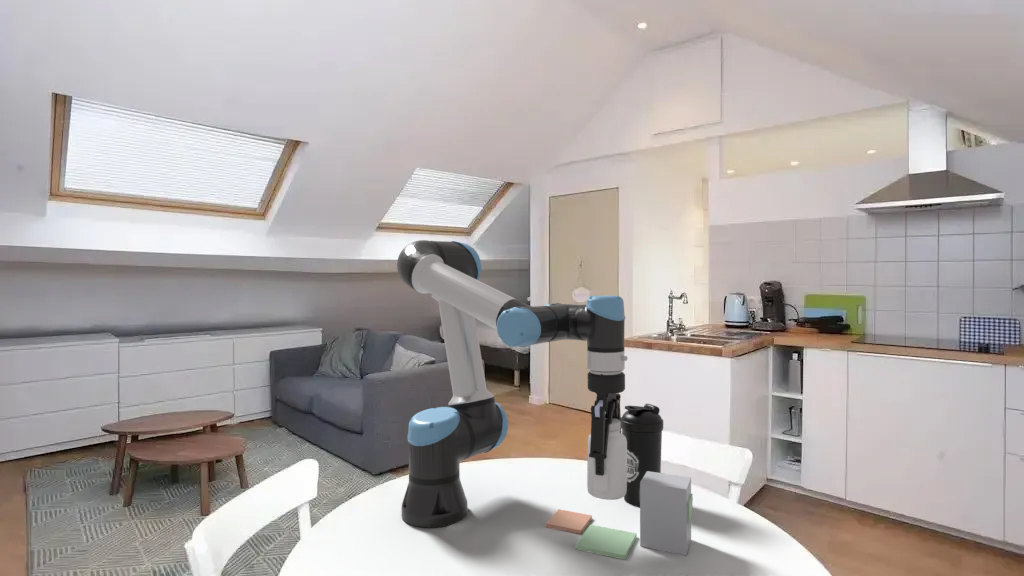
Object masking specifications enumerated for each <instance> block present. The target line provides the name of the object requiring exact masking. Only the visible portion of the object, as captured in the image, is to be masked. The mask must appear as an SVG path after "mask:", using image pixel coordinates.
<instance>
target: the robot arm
mask: <svg viewBox="0 0 1024 576" xmlns="http://www.w3.org/2000/svg"><path fill="white" fill-rule="evenodd" d="M396 270H397V275H398V276H399V278H400V279H401V280H402V282H403V283H404V284H405V285H406V286H407V287H409V288H411V289H413V290H414V291H416V292H418V293H420V294H423V295H424V294H430V295H431V298H432V299H434V300H435V301H436V302H437V303H438V309H439V315H440V320H441V327H442V334H443V339H444V340H443V341H444V346H445V353H446V359H447V366H448V372H449V379H450V385H451V389H452V390H451V391H452V397H451V399H450V400H449V402H448V403H447V404H448V405H447V406H439V407H435V408H434V407H431V408H428V409H424V410H421V411H419V412H417V413H415V414H414V415H413V416H412V417H411V418H410V420H409V422H408V431H407V432H408V433H407V442H408V446H407V447H408V483H407V487H406V490H405V493H404V497H403V500H402V503H401V518H402V520H403V521H404V523H407V524H409V525H411V526H415V527H419V528H441V527H446V526H450V525H453V524H456V523H458V522H460V521H461V520H463V519H464V518H465V517H466V516H467V514H468V499H467V496H466V494H465V491H464V488H463V485H462V481H461V477H460V476H461V474H460V462H462V461H465V460H466V459H471V458H472V457H475V456H479V455H481V454H486V453H487V454H488V453H489V452H491V451H492V450H494V449H497V448H499V447H500V446H501V445H502V444H503V442H504V440H505V439H506V437H507V435H508V430H509V419H508V415H507V413H506V410H505V409H503V407H502V405H501V404H499V403H498V402H496V400H495V395H494V394H493V393H492V392H490V391H489V389H487V383H486V382H487V381H486V377H485V370H484V365H483V359H482V354H481V353H482V351H481V347H480V340H479V334H478V328H477V323H476V320H477V321H479V322H481V323H482V324H485V325H487V326H488V327H490V328H492V329H494V330H495V331H496V332H497V335H498V337H499V338H500V340H501V342H502V343H503V344H504V345H506V346H508V347H511V348H517V347H519V348H526V347H529V346H534V345H539V344H544V343H551V342H557V341H563V340H567V341H568V340H569V341H584V342H585V341H586V343H587V344H586V346H587V347H586V348H587V349H586V353H587V354H586V355H587V356H586V360H587V361H586V363H587V364H586V369H587V370H588V373H587V390H588V391H589V392H592V393H595V394H596V400H594V403H593V404H594V405H591V407H590V415H591V421H590V422H591V423H590V425H591V427H590V434H591V444H590V454H589V457H592V458H594V490H599V491H606V492H608V458H607V445H608V434H609V425H610V424H611V423H612V419H613V418H615V419H618V420H620V422H621V417H622V415H621V394H620V393H623V392H625V390H626V374H625V372H623V371H624V370H625V368H626V367H625V362H626V361H628V356H627V355H625V353H626V352H625V321H626V316H625V304H624V303H625V302H624V299H623V297H621V296H620V295H613V294H612V295H611V294H610V295H609V294H608V295H590V296H588V297H587V298H586V303H585V304H571V303H570V304H567V303H559V302H557V303H547V304H543V305H536V306H532V305H529V304H527V303H526V302H523V301H521V300H518V299H516V298H515V297H513V296H511V295H509V294H506V293H504V292H503V291H501V290H499V289H497V288H495V287H492V286H490V285H488V284H486V283H484V282H483V281H480V278H481V276H480V275H481V274H482V261H481V258H480V255H479V254H478V252H477V251H476V249H475V248H474V247H473V246H471V245H470V244H468V243H464V242H459V241H454V240H453V241H452V240H451V241H446V240H445V241H441V240H428V239H427V240H425V239H421V240H415V241H413V242H410V243H408V244H407V245H405V246H404V247H403V248H402V250H401V252H399V255H398V258H397V261H396ZM620 433H622V428H621V427H620ZM597 451H599V452H597Z"/></svg>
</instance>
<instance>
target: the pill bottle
mask: <svg viewBox="0 0 1024 576" xmlns="http://www.w3.org/2000/svg"><path fill="white" fill-rule="evenodd" d="M620 427H621V422H620V420H618V419H615V418H613V419H612V423H611V424H610V425H609V434H608V445H607V458H608V492H606V491H599V490H594V458H592V457H589V454H590V444H591V433H589V435H588V436H587V457H586V458H587V464H586V465H587V478H586V480H587V482H586V485H587V486H586V488H587V493H588V494H589V495H590V496H592V497H593V498H596V499H597V498H598V499H600V500H607V501H608V500H609V501H611V500H619V499H622V498H624V496H625V495H626V490H627V440H626V437H625V436H624V435H623V434H622V432H621V433H620ZM597 452H599V451H597Z"/></svg>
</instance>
